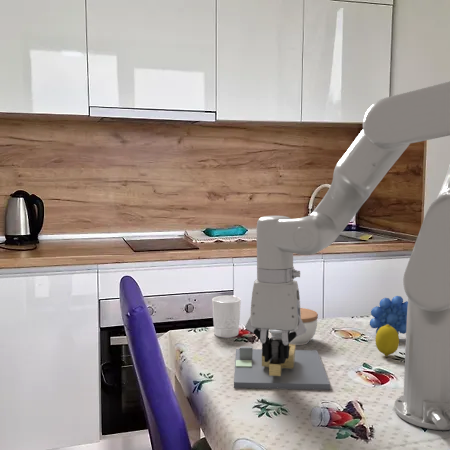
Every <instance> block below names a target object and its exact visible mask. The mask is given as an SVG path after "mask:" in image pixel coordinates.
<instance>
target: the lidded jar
mask: <svg viewBox="0 0 450 450" xmlns="http://www.w3.org/2000/svg"><path fill="white" fill-rule="evenodd" d="M300 310H301V320H302V322H303V324H304V326H305V328H306V332H305V333H304V334H302V335H300V336H297V337H295V338H294V339H293V340H292V341H291V342H290V343H289V344H292V345H295V346H303V345H307V344H309V341H310V340H312V339H313V338H314V336H315V334H316V331H317V327H318V317H319V316H318V315H319V314H318V312H317V311H315V310H313V309H310V308H304V307H300ZM297 329H298V328H297ZM291 332H292V331H290V333H291Z"/></svg>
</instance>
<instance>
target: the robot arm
mask: <svg viewBox="0 0 450 450" xmlns="http://www.w3.org/2000/svg"><path fill="white" fill-rule="evenodd" d="M448 136H449V137H450V81H445V82H442V83H438V84H433V85H432V86H427V87H423V88H419V89H414V90H412V91H407V92H403V93H399V94H396V95H395V94H394V95H390V96H387V97H384V98H381V99H379V100H377V101H375V102H374V103H373V104H372V105H370V107H369V108H367V110H366V111H365V114H364V116H363V120H362V130H360V133H358V135H357V136H356V137H355V139H354V141H352V143H351V144H350V146H349V147H348V149H347V150H346V152H345V153H343V155H342V157H341V158H340V159H339V160H338V162H337V163H336V165H335V167H334V170H333V175H332V181H331V184H330V186H329V188H328V190H327V192H326V193H325V195H324V196H323V197H322V199H321V201H320V202H319V203H318V205H317V206H316V207H315V208H314V210H313V211H312V212H311V214H310V215H307V216H302V217H300V218H299V217H298V218H291V217H290V216H285V215H265V216H261V217H260V218H258V220H257V223H256V279H255V280H254V282H253V286H252V291H251V292H252V293H251V302H250V317H249V318H248V320H247V322H246V324H245V326H244V328H245V330H247V331H249V332H250V333H253V334H254V335H255V337H256V338H258V340H259V342H260V343H261V349H262V356H265V362H268V361H269V355H270V337H269V335H270V334H269V333H270V330H282V340H283V341H282V344H281V345H280V363H282V364H284V363H285V361H286V359H288V358H289V343H290V342H291V341H292V340H293V339H294V338H295V337H297V336H300V335H302V334H304V333H305V332H306V328H305V326H304V324H303V322H302V320H301V310H300V308H301V300H300V299H301V298H300V290H299V285H298V281H297V280H294V279H296V278H301V271H300V270H297V269H296V268H295V266H294V254H296V255H300V256H312V255H315V254H317V253H320V252H321V251H323V250H325V249H327V248H328V247H330V246H332V244H333V243H334V242H335V241H336V240H337V239H338V237H339V236H340V235H341V234H342V232H343V231H344V230H345V229H346V228H347V226H349V224H350V222H351V221H352V220H353V218H355V216H356V215H357V213H358V212H359V211H360V209H361V207H362V206H363V205H364V204H365V202H366V201H367V200H368V199H369V198H370V196H371V194H372V193H373V192H374V190H375V189H376V188H377V186H378V185H379V184H380V182H381V181H382V180H383V179H384V177H385V176H386V174H387V173H388V172H389V171H390V169H391V168H392V167H393V166H394V165H395V163H396V162H397V161H398V160H399V158H400V157H401V156H402V154H403V153H404V152H405V151H406V150H407V149H408V147H409V146H410V145H411V144H415V143H420V142H425V141H429V140H435V139H438V138H444V137H448ZM440 187H441V188H440V190H439V192H438V194H437V197H436V199H435V200H434V201H433V202H432V203H431V204H430V206H429V207H428V209H427V211H426V213H425V216H424V218H423V221H422V224H421V225H420V229H419V232H418V234H417V237H416V240H415V243H414V246H413V248H412V252H411V255H410V257H409V260H408V263H407V265H406V268H405V271H404V274H403V279H402V280H403V282H402V283H403V289H404V292H405V294H406V297H407V301H408V308H407V326H406V333H405V351H404V352H405V354H404V355H405V356H404V372H403V373H404V374H403V377H404V378H403V395H401V396H399V397H397V399H395V401H394V408H393V409H394V412H395V413H396V415H397V416H398V417H400V418H401V420H404V421H405V422H407V423H410V424H411V425H414V426H417V427H418V428H419V427H420V428H424V429H428V430H435V431H450V163H449V164H448V168H447V171H446V174H445V178H444V180H443V182H442V185H441V186H440ZM297 328H298V329H297ZM290 331H292V332H291V333H290Z"/></svg>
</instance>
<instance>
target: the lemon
mask: <svg viewBox="0 0 450 450" xmlns="http://www.w3.org/2000/svg"><path fill="white" fill-rule="evenodd" d="M375 334H376V333H375ZM374 340H375V347H376V348H377V350H378V352H380V353H382V354H383V355H384V356H385V357H388V356H390V355H392V354H394V353H396V352H397V350H398V349H399V345H400V336H399V334H398V333H397V331H396V330H395V329H394V328H393V327H391V326H390V325H388V324H387V325H385V326H382V327H381V328H379V330H378V331H377V334H376V335H375V339H374Z"/></svg>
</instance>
